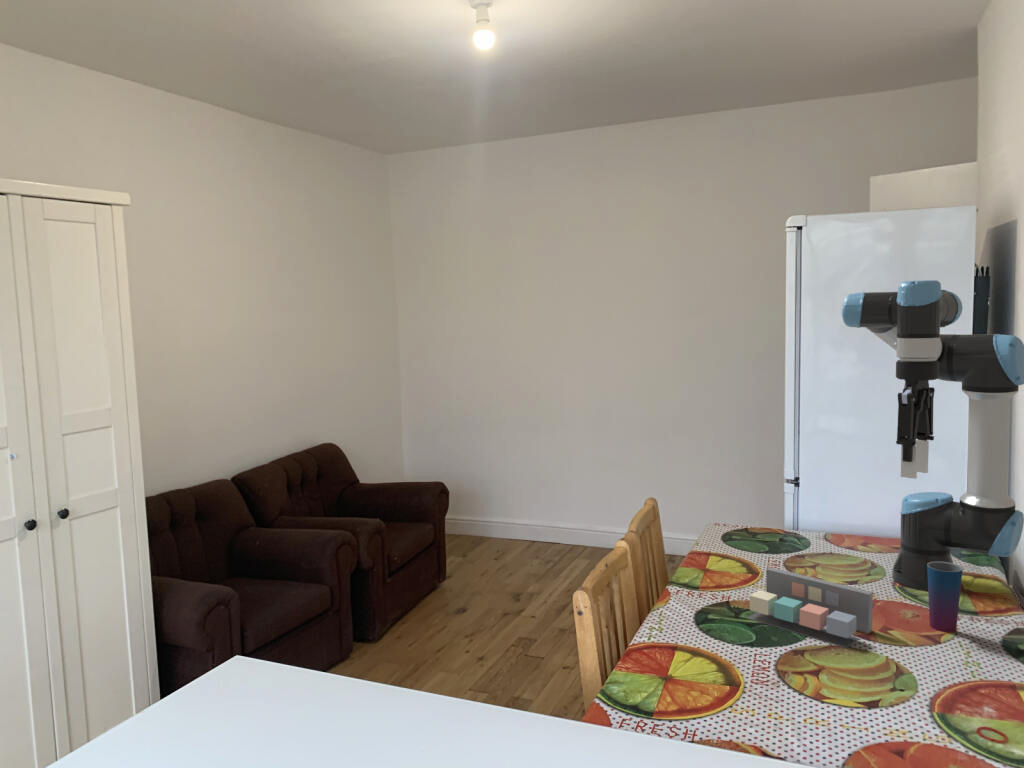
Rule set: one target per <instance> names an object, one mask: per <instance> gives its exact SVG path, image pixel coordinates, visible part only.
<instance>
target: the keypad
mask: <svg viewBox="0 0 1024 768" xmlns="http://www.w3.org/2000/svg"><path fill="white" fill-rule="evenodd" d="M765 576H766V578H765V579H766V580H765V581H766V582H765V583H766V587H765V589H766V590H765V592H768V593H772V594H776V595H777V600H779V599H780V598H782V597H787V598H791V599H794V600H798V601H802V607H804V606H806V605H807V604H813V605H817V606H821V607H824V608H828V609H829V615H830V614H831V613H833V612H834V611H839V612H843V613H847V614H850V615H854V616H856V632H857V631H858V632H861V633H865V634H870V633H871V632H873V612H874V611H873V608H874V605H873V602H874V599H873V598H874V597H873V596H874V592H873V591H870V590H866V589H862V588H857V587H853V586H850V585H845V584H840V583H837V582H834V581H829V580H825V579H821V578H817V577H813V576H812V577H811V576H807V575H804V574H801V573H796V572H792V571H789V570H783V569H779V568H776V567H768V568H767V569H766V575H765ZM747 619H748V620H752V621H755V622H757V623H758V622H759V623H761V624H765V625H769V626H771V627H774V628H778V629H782V630H785V631H788V632H791V633H795V634H798V635H802V636H804V637H808V638H812V639H815V640H817V641H821V642H824V643H827V644H831V645H834V646H838V647H841V648H845V649H848V648H849V647H850V646H851V645H853V644H854V643H855V642H857V641H858V640H859V639H860V638H859V637H855V636H853V635H851V636H850V637H849V638H844V637H841V636H837V635H834V634H830V633H827V632H826V627H824V628H822V629H821V630H817V629H813V628H810V627H806V626H803V625H800V620H796V621H795V622H789V621H786V620H782V619H779V618H775V617H774V612H772V613H771V614H769V615H765V614H762V613H758V612H755V613H753V614H751V615H750V616H748V617H747Z"/></svg>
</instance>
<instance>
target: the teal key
mask: <svg viewBox="0 0 1024 768" xmlns="http://www.w3.org/2000/svg"><path fill="white" fill-rule="evenodd" d="M801 608H802V601H798V600H794V599H791V598H787V597H782V598H780V599H779V600H777V601H775V602H774V612H773V614H774V617H775V618H779V619H782V620H786V621H789V622H795V621H796V620H797V621H799V620H800V609H801Z"/></svg>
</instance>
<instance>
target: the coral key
mask: <svg viewBox="0 0 1024 768" xmlns="http://www.w3.org/2000/svg"><path fill="white" fill-rule="evenodd" d="M828 615H829V609H828V608H824V607H821V606H817V605H813V604H807V605H806V606H804V607H802V608H801V609H800V618H799V621H800V625H803V626H806V627H810V628H813V629H817V630H821V629H822V628H826V624H827V616H828Z"/></svg>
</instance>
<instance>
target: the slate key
mask: <svg viewBox="0 0 1024 768" xmlns="http://www.w3.org/2000/svg"><path fill="white" fill-rule="evenodd" d="M825 629H826V632H827V633H830V634H834V635H837V636H841V637H844V638H849V637H850V636H853V635H855V633H857V630H856V616H854V615H850V614H847V613H843V612H839V611H834V612H833V613H831V614H830V615H828V616H827V624H826V626H825Z"/></svg>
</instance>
